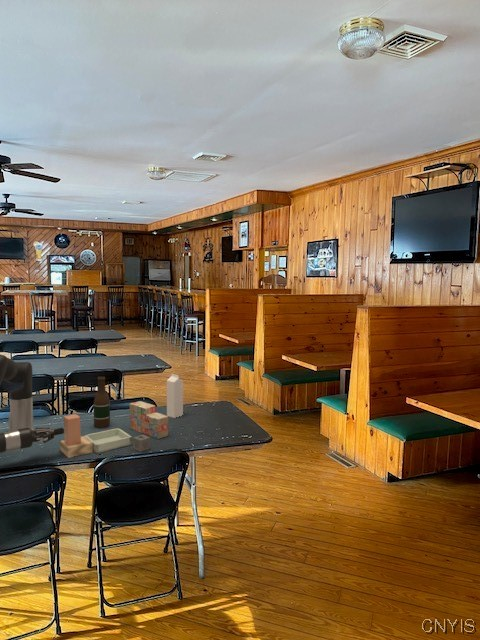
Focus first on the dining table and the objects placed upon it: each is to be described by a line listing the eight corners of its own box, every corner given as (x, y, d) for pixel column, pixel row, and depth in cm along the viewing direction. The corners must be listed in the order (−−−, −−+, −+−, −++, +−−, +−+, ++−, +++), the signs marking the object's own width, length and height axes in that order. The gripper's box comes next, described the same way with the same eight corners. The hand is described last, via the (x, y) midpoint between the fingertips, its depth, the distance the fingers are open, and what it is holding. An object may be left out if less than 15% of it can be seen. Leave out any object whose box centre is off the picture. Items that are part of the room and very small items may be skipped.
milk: (174, 418, 235) (174, 376, 233) (166, 415, 240) (166, 374, 237) (183, 415, 240) (183, 374, 237) (175, 413, 244) (175, 372, 241)
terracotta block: (68, 445, 186) (67, 419, 185) (64, 442, 190) (63, 416, 189) (80, 443, 189) (80, 417, 188) (76, 439, 193) (76, 414, 192)
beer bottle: (105, 429, 218) (104, 379, 215) (90, 427, 220) (89, 378, 217) (113, 423, 226) (112, 375, 223) (98, 422, 227) (97, 374, 225)
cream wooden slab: (68, 458, 184) (68, 448, 184) (60, 450, 192) (60, 440, 192) (92, 452, 190) (92, 442, 190) (84, 444, 198) (83, 435, 198)
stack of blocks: (168, 435, 211) (168, 409, 209) (157, 439, 206) (157, 412, 205) (140, 425, 225) (140, 400, 224) (129, 428, 220) (129, 403, 219)
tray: (96, 453, 189) (96, 445, 189) (83, 443, 200) (83, 435, 200) (132, 444, 199) (132, 436, 199) (118, 435, 210) (118, 427, 210)
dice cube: (142, 445, 199) (142, 434, 198) (150, 448, 195) (150, 437, 195) (133, 449, 195) (133, 437, 194) (140, 452, 192) (140, 440, 191)
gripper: (21, 435, 171) (68, 425, 181) (12, 425, 181) (58, 417, 192) (21, 454, 171) (69, 444, 182) (13, 443, 182) (58, 434, 192)
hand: (63, 430), depth 187 cm, fingers closed
